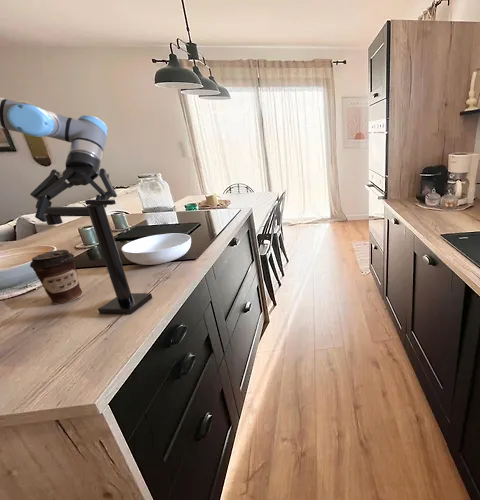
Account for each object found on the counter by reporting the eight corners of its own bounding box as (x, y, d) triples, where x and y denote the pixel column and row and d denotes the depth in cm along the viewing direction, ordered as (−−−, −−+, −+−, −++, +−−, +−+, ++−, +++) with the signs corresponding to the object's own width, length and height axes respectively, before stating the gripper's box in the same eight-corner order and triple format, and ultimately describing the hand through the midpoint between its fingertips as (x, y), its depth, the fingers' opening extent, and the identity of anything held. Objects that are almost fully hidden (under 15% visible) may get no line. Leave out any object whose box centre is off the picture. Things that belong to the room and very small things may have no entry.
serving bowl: (153, 249, 114) (149, 232, 112) (205, 249, 113) (201, 233, 111) (110, 271, 95) (104, 251, 92) (172, 272, 94) (167, 252, 91)
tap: (66, 313, 71) (21, 203, 61) (94, 297, 79) (57, 196, 69) (132, 314, 71) (97, 203, 61) (154, 298, 78) (126, 196, 68)
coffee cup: (94, 295, 80) (78, 252, 75) (53, 310, 73) (33, 263, 68) (81, 288, 84) (65, 246, 79) (42, 301, 77) (22, 256, 72)
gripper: (136, 166, 95) (126, 221, 87) (46, 168, 90) (27, 227, 82) (123, 149, 88) (111, 208, 80) (26, 151, 83) (2, 213, 75)
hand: (69, 218), depth 81 cm, fingers open, 13 cm apart
